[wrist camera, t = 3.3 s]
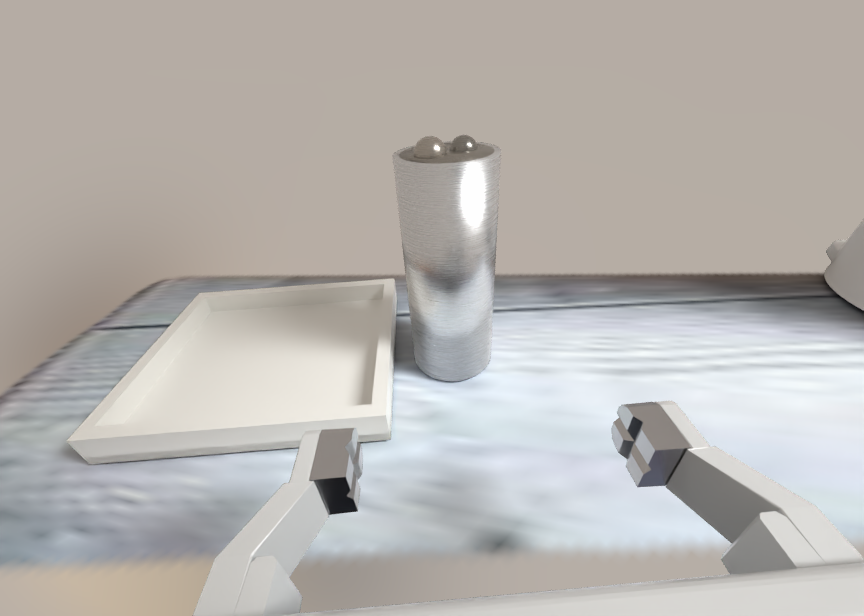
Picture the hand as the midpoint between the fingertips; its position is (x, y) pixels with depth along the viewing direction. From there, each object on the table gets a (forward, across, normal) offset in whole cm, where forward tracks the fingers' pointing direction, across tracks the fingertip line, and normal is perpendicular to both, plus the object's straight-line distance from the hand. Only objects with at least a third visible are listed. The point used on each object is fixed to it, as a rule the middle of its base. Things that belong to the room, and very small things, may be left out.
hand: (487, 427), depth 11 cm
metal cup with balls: (+12, 0, +7) cm, 14 cm away
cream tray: (+12, +12, +7) cm, 19 cm away
